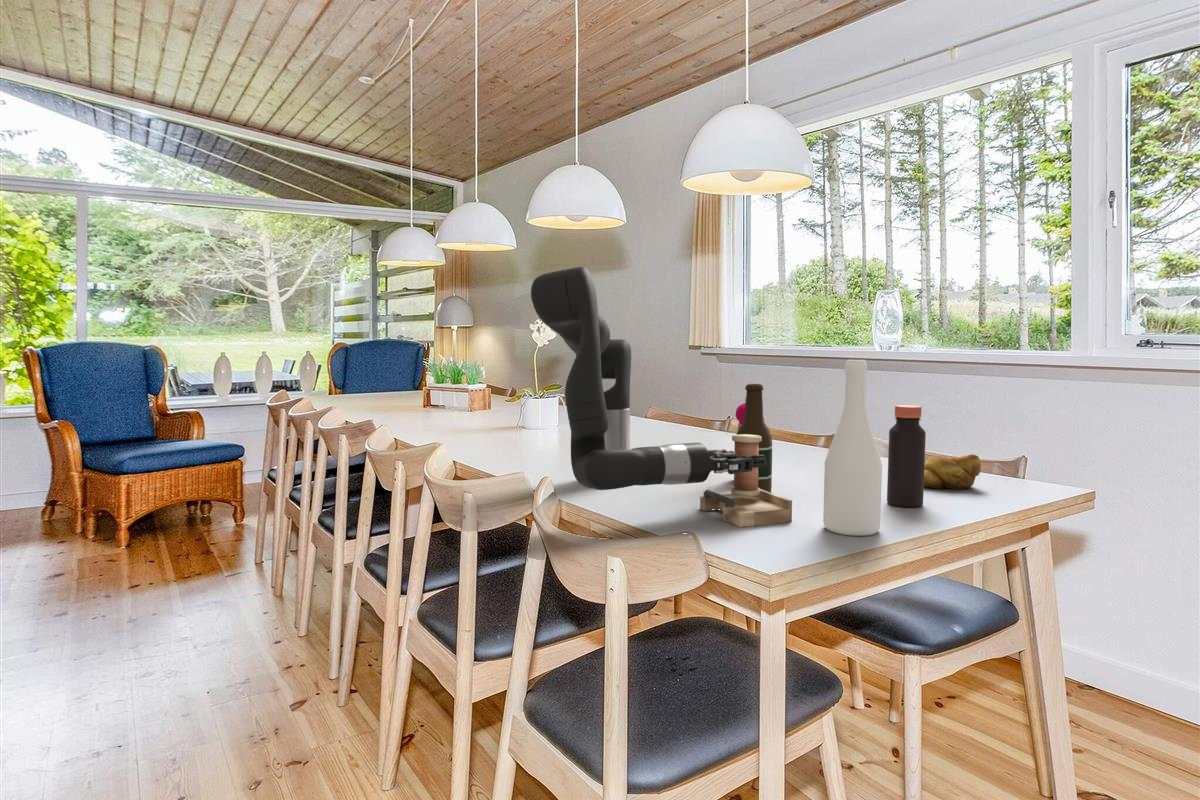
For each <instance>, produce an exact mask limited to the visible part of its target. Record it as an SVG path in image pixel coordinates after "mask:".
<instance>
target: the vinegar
mask: <svg viewBox="0 0 1200 800" xmlns="http://www.w3.org/2000/svg"><path fill="white" fill-rule="evenodd" d="M921 418H922V406H921V405H914V404H913V405H912V404H910V405H909V404H898V405H895V406H894V419H895V420H896V421H895V424H894V425H893V426H892V427H891V428H890V429H889V431H888V451H887V452H888V453H887V455H888V457H887V461H888V462H887V484H886V485H887V486H886V487H887V488H886V502H887V504H889V505H891V506H893V507H899V508H906V507H907V508H908V509H910V508H912V509H914V508H920V507H922V506H923V504H924V488H925V486H924V465H925V462H926V460H925V459H926V435H927V434H926V431H925V429H924V428H923V427H922V426H921V425H920V421H921V420H922V419H921ZM907 508H906V509H907Z"/></svg>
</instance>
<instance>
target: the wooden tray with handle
mask: <svg viewBox="0 0 1200 800" xmlns="http://www.w3.org/2000/svg"><path fill="white" fill-rule="evenodd" d="M700 508H701V509H700ZM699 509H700V510H702V509H703V510H702V511H704V510H710V511H713V510H712V509H720V510H722V511H723V512H722V511H721V512H722V520H723V519H725V520H727V521H729V522H731V523H730V524H732V523H733V524H732V525H734V524H735V525H734V526H736V525H737V526H736V527H738V526H739V527H738V528H744V527H743V526H747V527H754V526H755V525H757V526H766V525H773V524H783V523H791V522H792V521H793V518H792V517H793V500H792V499H790V498H787V497H785V496H781V495H779V494H775V493H773V492H771V493H770V492H767V491H765V490H762V489H761V491H760V494H759V495H754V496H743V495H736V494H733V493H731V492H730V493H724V494H723V493H722V494H721V493H717V492H716V491H712V490H710V489H705V490H704V491H703V495H700V496H699ZM720 510H719V511H720ZM725 520H724V521H725ZM727 521H726V522H727ZM729 522H728V523H729Z"/></svg>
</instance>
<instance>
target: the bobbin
mask: <svg viewBox="0 0 1200 800" xmlns="http://www.w3.org/2000/svg"><path fill="white" fill-rule="evenodd" d="M731 440H732V442H734V450H733V451H734V453H736V454H738V455H739V456H746V455H749V456H754V455H759V442H761V441H762V437H761V436H758V435H748V434H740V435H736V434H733V435H732V436H731ZM760 491H761V489H760V488H758V467H755V468H752V471H750V472H742V473H736V474H733V486H731V487H730V494H731V493H733V494H736V495H743V496H754V495H759V494H760Z"/></svg>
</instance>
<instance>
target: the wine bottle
mask: <svg viewBox="0 0 1200 800" xmlns="http://www.w3.org/2000/svg"><path fill="white" fill-rule="evenodd" d="M844 373H845V386H844V389H845V390H844V391H845V392H844V406H843V410H842V414H841V416H840V419H839V422H838V424H837V428H836V431H835V433H834V435H833V439H832V440H831V444H830V446H829V448H828V451H827V453H826V457H825V460H824V472H823V475H824V476H823V477H824V479H823V481H824V482H823V484H824V485H823V512H822V513H823V518H822V519H823V526H824V527H825V528H826V530H828V531H830V532H832V533H834V534H835V533H836V534H838V535H844V536H852V537H854V536H855V537H864V536H865V537H866V536H872V535H875V534H876V533H878V531H880V528H881V518H882V517H881V515H882V514H881V512H882V485H883V483H882V482H883V481H882V480H883V463H882V459H881V455H880V451H879V448H878V446H877V443H876V439H875V436H874V434H873V431H872V430H873V429H872V427H871V424H870V420H869V418H868V413H867V409H866V374H867V373H868V364H867V361H866V359H846V363H844Z"/></svg>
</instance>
